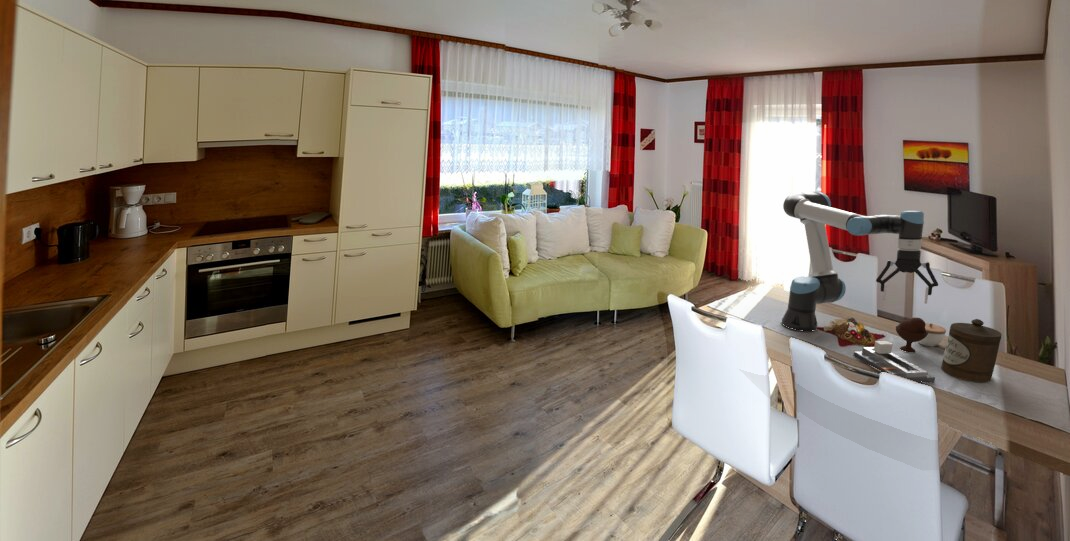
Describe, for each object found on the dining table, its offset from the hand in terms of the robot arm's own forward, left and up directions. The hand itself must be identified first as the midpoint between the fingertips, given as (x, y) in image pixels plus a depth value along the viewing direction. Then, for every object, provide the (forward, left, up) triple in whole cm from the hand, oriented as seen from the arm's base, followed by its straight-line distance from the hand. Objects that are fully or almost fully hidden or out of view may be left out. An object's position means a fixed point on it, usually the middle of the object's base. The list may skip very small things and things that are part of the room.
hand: (904, 301), depth 202 cm
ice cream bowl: (-2, +8, -23) cm, 24 cm away
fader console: (+14, -12, -23) cm, 29 cm away
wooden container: (+20, +13, -23) cm, 33 cm away
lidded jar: (-8, +22, -23) cm, 33 cm away
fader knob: (+8, -12, -21) cm, 25 cm away
